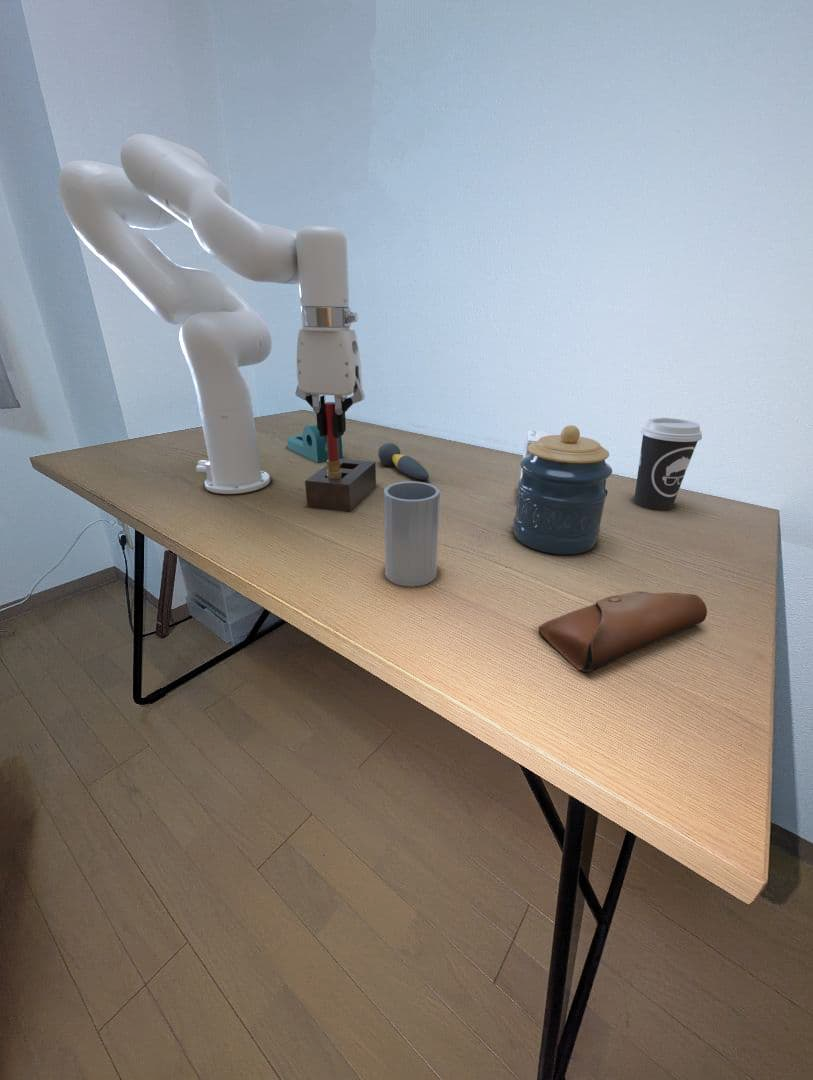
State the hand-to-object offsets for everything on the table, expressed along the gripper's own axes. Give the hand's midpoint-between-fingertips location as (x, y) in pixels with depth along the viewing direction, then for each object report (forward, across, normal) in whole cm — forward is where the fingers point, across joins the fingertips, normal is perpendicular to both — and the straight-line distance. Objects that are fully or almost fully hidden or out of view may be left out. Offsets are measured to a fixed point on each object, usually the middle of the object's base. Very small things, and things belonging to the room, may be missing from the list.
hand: (331, 434), depth 83 cm
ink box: (+12, -36, -12) cm, 39 cm away
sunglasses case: (+12, -46, +28) cm, 56 cm away
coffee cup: (+12, -58, -15) cm, 61 cm away
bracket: (+13, +18, -29) cm, 37 cm away
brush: (+11, 0, 0) cm, 11 cm away
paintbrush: (+13, -8, -21) cm, 26 cm away
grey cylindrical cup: (+12, -20, +22) cm, 32 cm away
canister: (+12, -40, +5) cm, 42 cm away
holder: (+12, 0, -3) cm, 13 cm away
